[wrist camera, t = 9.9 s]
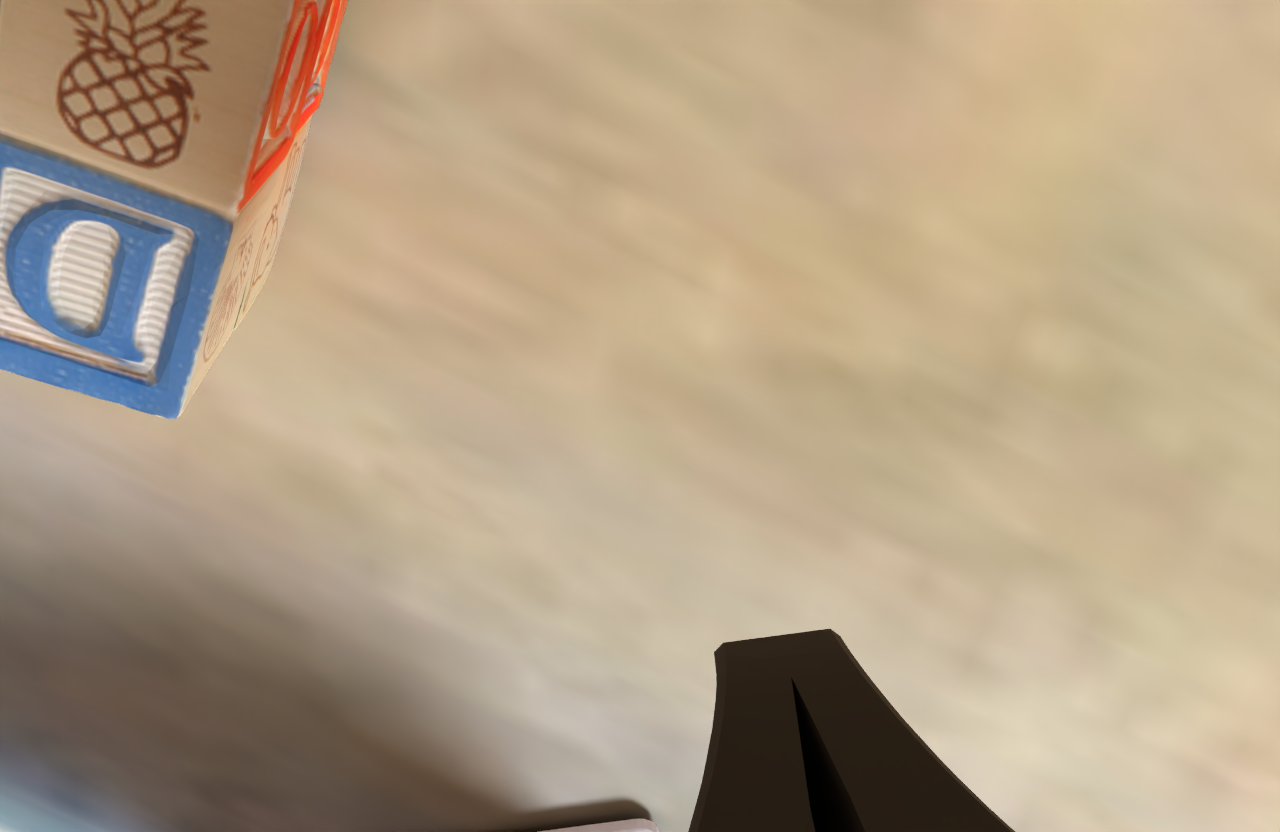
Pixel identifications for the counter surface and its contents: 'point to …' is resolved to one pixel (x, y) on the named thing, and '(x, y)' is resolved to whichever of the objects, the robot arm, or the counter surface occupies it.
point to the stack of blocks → (147, 181)
